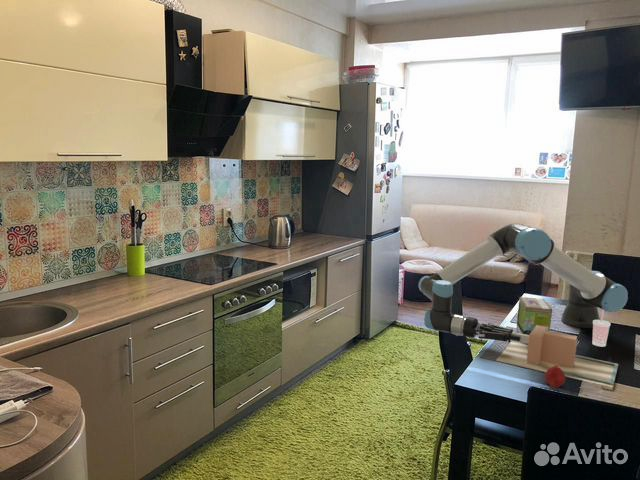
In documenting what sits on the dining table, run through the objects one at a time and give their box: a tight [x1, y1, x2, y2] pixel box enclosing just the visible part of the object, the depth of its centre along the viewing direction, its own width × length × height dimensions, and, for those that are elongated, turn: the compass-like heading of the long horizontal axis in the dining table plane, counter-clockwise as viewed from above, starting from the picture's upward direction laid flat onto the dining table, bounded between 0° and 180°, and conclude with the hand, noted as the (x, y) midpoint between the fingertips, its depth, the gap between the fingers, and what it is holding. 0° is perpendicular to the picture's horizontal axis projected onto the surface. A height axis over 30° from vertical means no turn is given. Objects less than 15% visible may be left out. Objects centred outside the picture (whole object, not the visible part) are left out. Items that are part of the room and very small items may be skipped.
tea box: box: [516, 296, 553, 335], centre depth 210 cm, size 15×10×15 cm
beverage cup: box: [591, 309, 611, 348], centre depth 204 cm, size 6×6×14 cm
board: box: [495, 341, 619, 391], centre depth 185 cm, size 22×36×2 cm, turn 57°
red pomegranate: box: [544, 365, 566, 390], centre depth 166 cm, size 6×6×8 cm
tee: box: [527, 325, 578, 368], centre depth 185 cm, size 12×14×10 cm
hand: (530, 339), depth 188 cm, fingers closed
